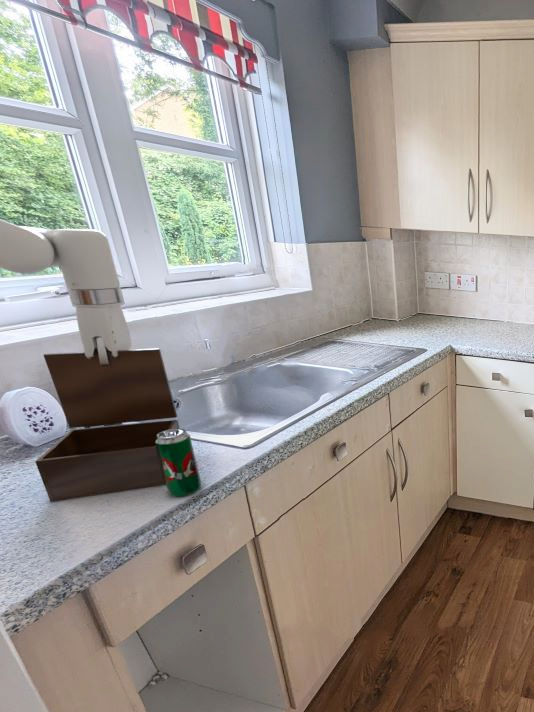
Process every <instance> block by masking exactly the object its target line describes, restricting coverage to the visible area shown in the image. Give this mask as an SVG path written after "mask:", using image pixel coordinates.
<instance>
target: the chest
mask: <svg viewBox="0 0 534 712" xmlns="http://www.w3.org/2000/svg"><path fill="white" fill-rule="evenodd" d="M170 429H181V428H180V423H179V419H178V418H171V419H161V420H151V421H141V422H131V423H122V425H112V426H102V427H93V428H84V427H82V428H72V429H70V430H69V431H68V432H66V434H65V435H63V436H62V437H61V438H60V439H59V440H58V441H56V442H55V443H54V444H53V445H52V446H51V447H50V448H49V449H48V450H46V451H45V452H44V453H43V454H42V455H41V456H40V457H38V458H37V459H36V460H35V461H34V462H35V465H36V467H37V470H38V472H39V476H40V479H41V481H42V484H43V486H44V489H45V492H46V494H47V497H48V499H49V502H57V501H64V500H71V499H77V498H84V497H85V498H86V497H90V496H91V497H92V496H99V495H104V494H110V493H112V494H113V493H117V492H125V491H131V490H138V489H145V488H152V487H157V486H165V485H166V482H165V478H164V474H163V471H162V467H161V463H160V459H159V456H158V452H157V448H156V444H155V441H156V439H157V437H156V435H157V434H158V433H160V432H163V431H166V430H170ZM166 486H167V485H166Z"/></svg>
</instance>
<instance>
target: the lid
mask: <svg viewBox="0 0 534 712" xmlns="http://www.w3.org/2000/svg"><path fill="white" fill-rule="evenodd" d="M117 352H118V356H117V357H114V356H112V355H113V354H112V351H108V355H109V358H110V361H111V364H112V365H107V366H101V364H100V359H99V354H98V351H94V354H93V355H94V356H93V357H90V358H91V359H89V358H87V357H86V356H85V353H84V351H75V352H73V351H72V352H54V353H53V352H52V353H44V354H43V358H44V361H45V363H46V366H47V369H48V373H49V375H50V378H51V380H52V384H53V385H54V388H55V391H56V394H57V397H58V399H59V402H60V406H61V408H62V410H63V413H64V416H65V419H66V421H67V425H68V427H69V429H78V428H84V427H87V426H97V425H107V424H117V423H122V424H128V423H138V422H148V421H158V420H168V419H177V417H178V414H177V409H176V405H175V402H174V398H173V393H172V390H171V386H170V383H169V378H168V375H167V371H166V367H165V363H164V360H163V355H162V351H161V348H160V347H158V348H157V347H155V348H138V349H128V350H119V351H117Z"/></svg>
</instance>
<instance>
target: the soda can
mask: <svg viewBox="0 0 534 712" xmlns="http://www.w3.org/2000/svg"><path fill="white" fill-rule="evenodd" d="M156 437H157V439H156V441H155V444H156V448H157V452H158V456H159V459H160V463H161V467H162V471H163V474H164V478H165V482H166V489H167V493H168V495H170V496H172V497H176V498H177V497H186V496H190V495H193V494H194V493H196V492H198V491H199V490H200V488H201V487H202V481H201V477H200V471H199V468H198V463H197V459H196V455H195V451H194V446H193V442H192V438H191V435H190V434H189V433H188V432H187V430H186V429H185V428H180V429H170V430H166V431H163V432H160V433H158V434H157V435H156Z"/></svg>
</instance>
